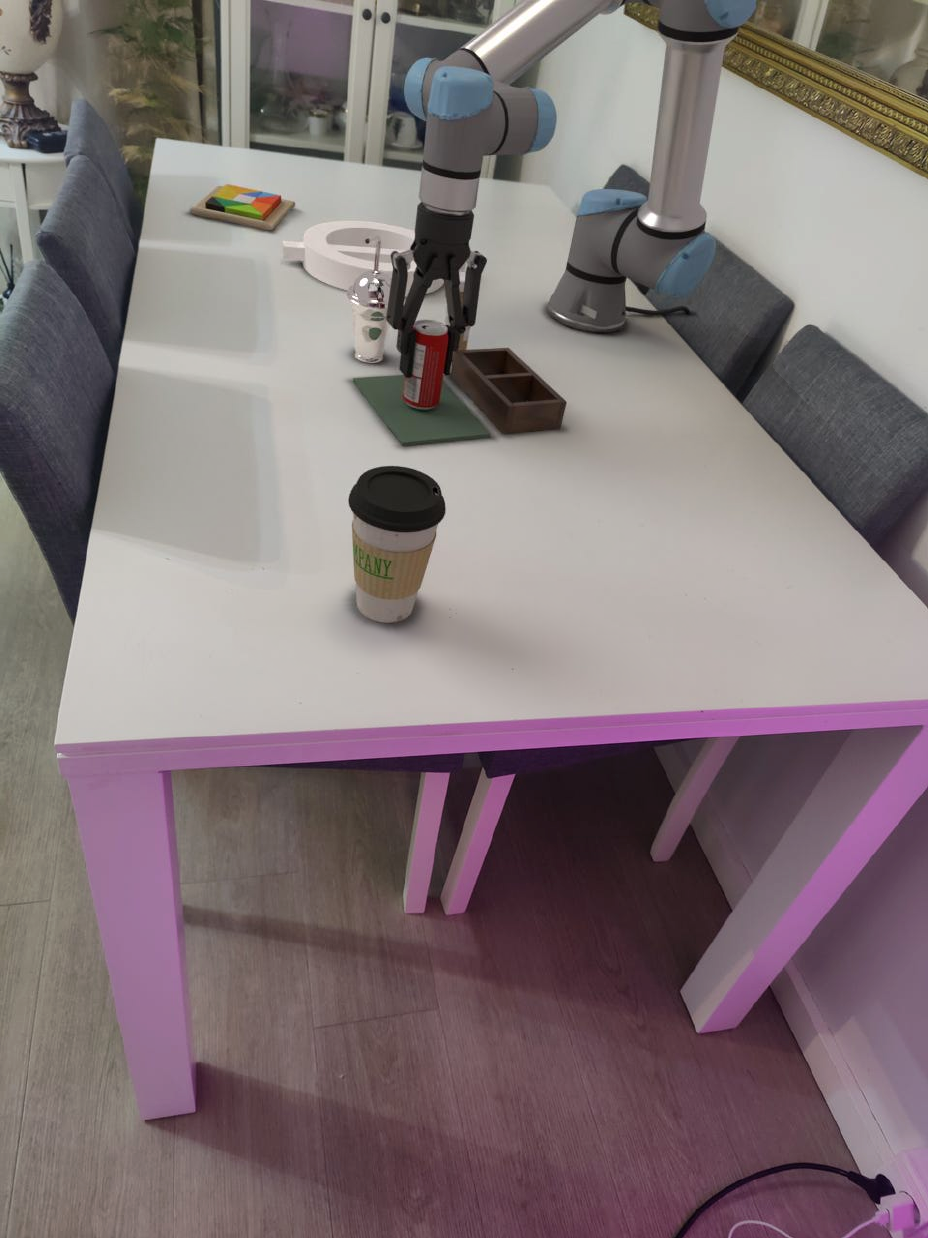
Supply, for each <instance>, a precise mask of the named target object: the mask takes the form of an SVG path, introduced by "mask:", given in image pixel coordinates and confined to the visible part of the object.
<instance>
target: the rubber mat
mask: <svg viewBox="0 0 928 1238" xmlns="http://www.w3.org/2000/svg"><path fill="white" fill-rule="evenodd" d="M404 381H405V376H404V375H403V374H397V375H396V374H395V375H380V376H366V377H364V376H363V377H353V379H352V382H353V384H354V385H355V386H356V387H357V389H358V390H359V391H360V393H361V394H362V395H363V396H364V398H365V399H366V400H367V401H368V403H369V404H370V406H371V407H372V408H373V409H374V411H375V412H376V413H377V414H378V416H379V417H380V418H381V420H382V421H383V422H384V424H385V425H386V426H387V428H388V429H389V431H390V432H391V433H392V434H393V436H394V437H395V438H396V439H397V441H398V442H399V443H400V444H401V446H402V447H406V446H416V445H417V446H418V445H426V444H437V443H447V442H454V441H455V442H457V441H466V440H476V439H486V438H491V436H492V435H491V432H490V431H489V429H487V428H486V427H485V426H484V425H483V424H482V423H481V422H480V420H479V419H478V418H477V416H475V415H474V414H473V413H472V411H471V410H470V409H469V408H468V407H467V406H466V405H465V404H464V403H463V402H462V401H461V399H460V398H459V397H458V396H457V395H456V394H455V393H454V392H453V391H452V390H451V389H450V388H449V387H448V385H447V384H446V383H445V382H444V381H443V380H442V387H441V394H440V401H439V404H438V405H437V406H435V407H434V408H432V409H426V410H424V409H416V408H413V407H411V406H409V405H408V404H407V403H406V402H405V400H404V399H403V389H404Z"/></svg>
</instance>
